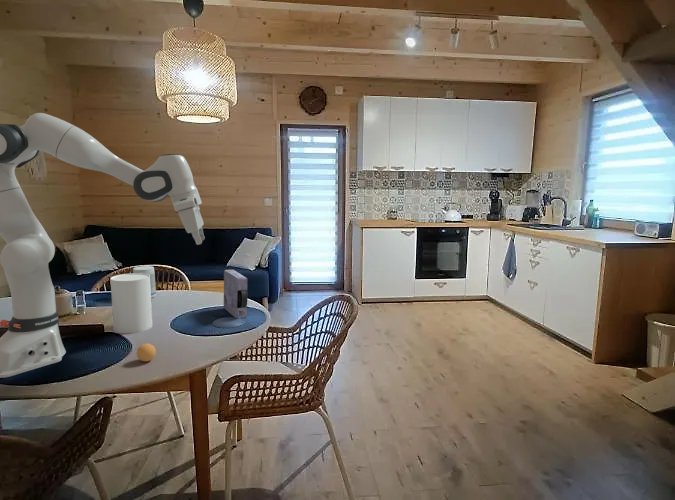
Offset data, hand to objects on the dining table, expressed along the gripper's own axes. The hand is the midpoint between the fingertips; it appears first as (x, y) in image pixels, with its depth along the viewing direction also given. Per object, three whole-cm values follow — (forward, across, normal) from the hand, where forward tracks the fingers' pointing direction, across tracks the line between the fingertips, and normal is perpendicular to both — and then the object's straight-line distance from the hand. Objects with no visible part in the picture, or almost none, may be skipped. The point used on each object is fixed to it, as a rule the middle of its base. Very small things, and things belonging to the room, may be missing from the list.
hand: (201, 242), depth 143 cm
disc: (+37, -24, -3) cm, 44 cm away
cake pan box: (+38, -36, -1) cm, 52 cm away
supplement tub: (+25, -69, -42) cm, 84 cm away
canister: (+27, -24, -38) cm, 52 cm away
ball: (+27, +10, -26) cm, 39 cm away
